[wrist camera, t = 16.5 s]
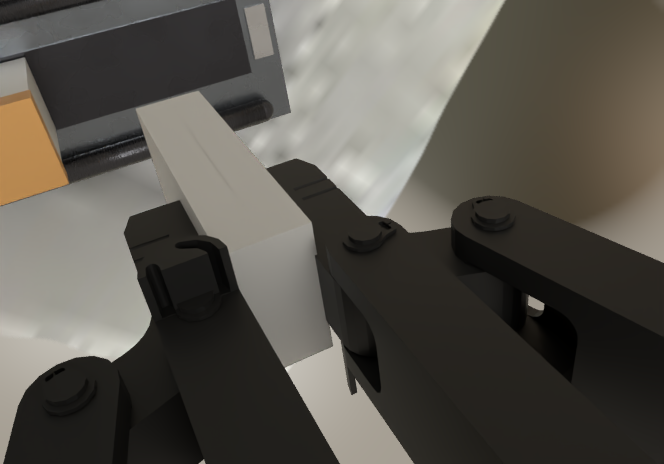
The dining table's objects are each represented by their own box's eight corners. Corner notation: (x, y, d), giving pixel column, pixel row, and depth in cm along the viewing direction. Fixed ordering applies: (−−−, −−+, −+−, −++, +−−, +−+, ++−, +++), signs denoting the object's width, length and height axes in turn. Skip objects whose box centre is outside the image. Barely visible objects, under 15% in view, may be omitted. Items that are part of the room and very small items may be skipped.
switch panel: (-36, 194, 37) (-40, 229, 33) (-142, 6, 31) (-161, 24, 27) (275, 98, 42) (298, 119, 39) (238, -79, 36) (262, -72, 33)
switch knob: (-3, 147, 33) (-5, 207, 27) (-41, 71, 31) (-51, 120, 25) (58, 129, 34) (68, 183, 28) (25, 54, 32) (30, 97, 26)
